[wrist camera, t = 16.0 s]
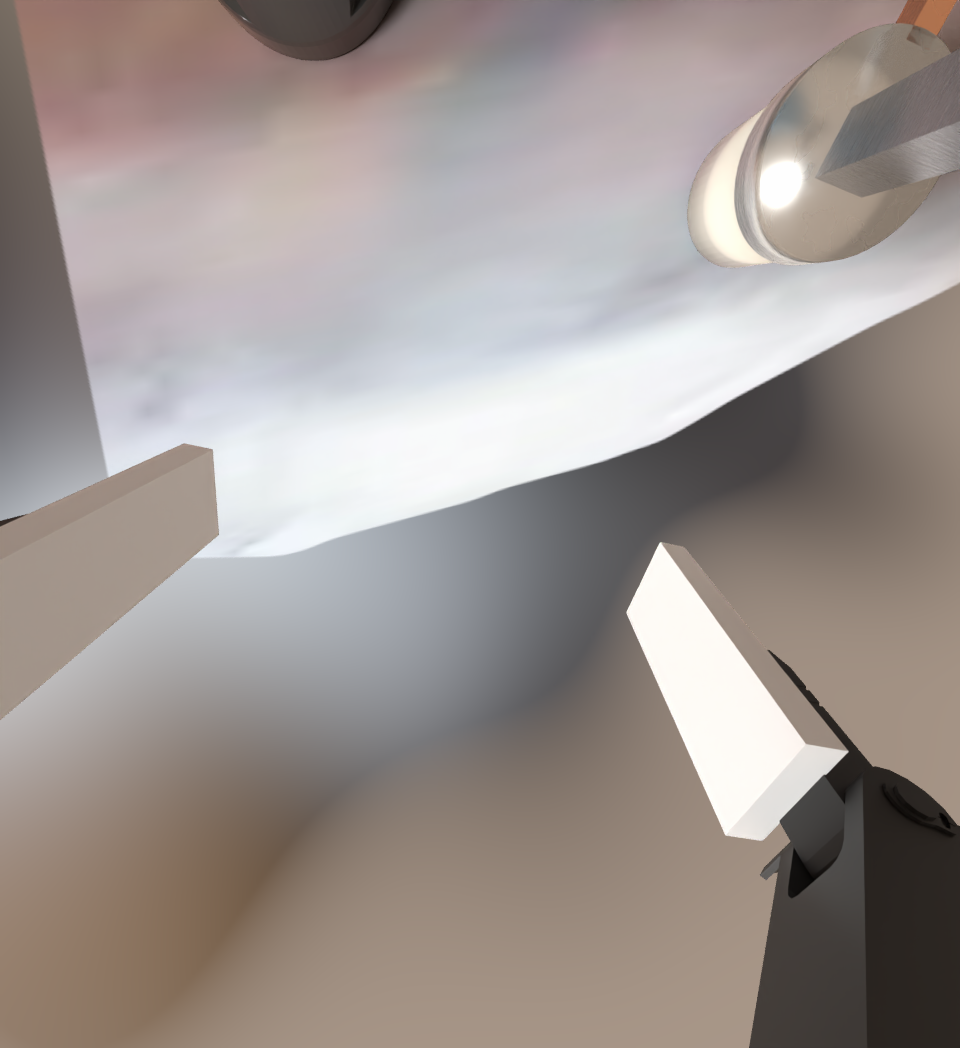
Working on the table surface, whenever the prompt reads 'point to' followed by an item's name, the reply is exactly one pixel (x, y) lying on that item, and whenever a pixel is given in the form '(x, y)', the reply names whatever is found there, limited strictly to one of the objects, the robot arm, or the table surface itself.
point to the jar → (721, 204)
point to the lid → (853, 142)
